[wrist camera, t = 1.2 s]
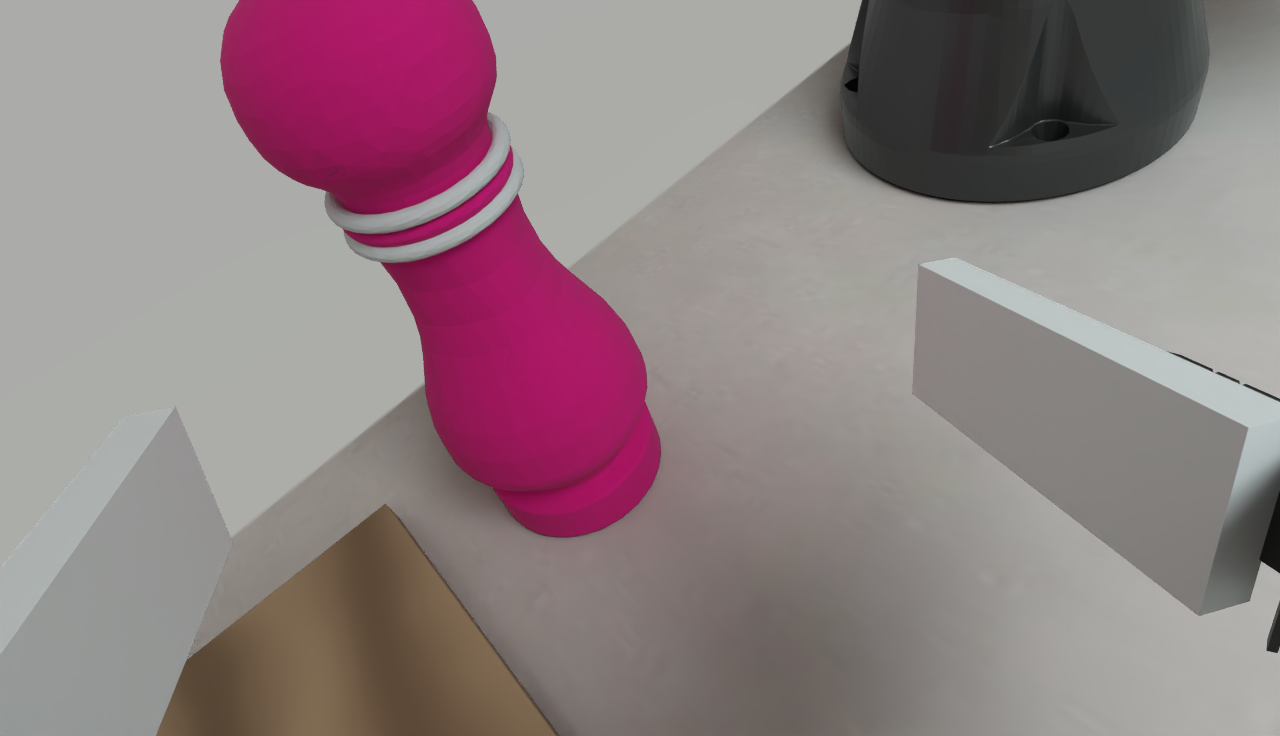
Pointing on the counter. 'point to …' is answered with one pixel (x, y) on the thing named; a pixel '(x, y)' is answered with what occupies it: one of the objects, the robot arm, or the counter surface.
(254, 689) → the seat board
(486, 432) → the pepper mill
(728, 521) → the counter surface
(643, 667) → the counter surface
